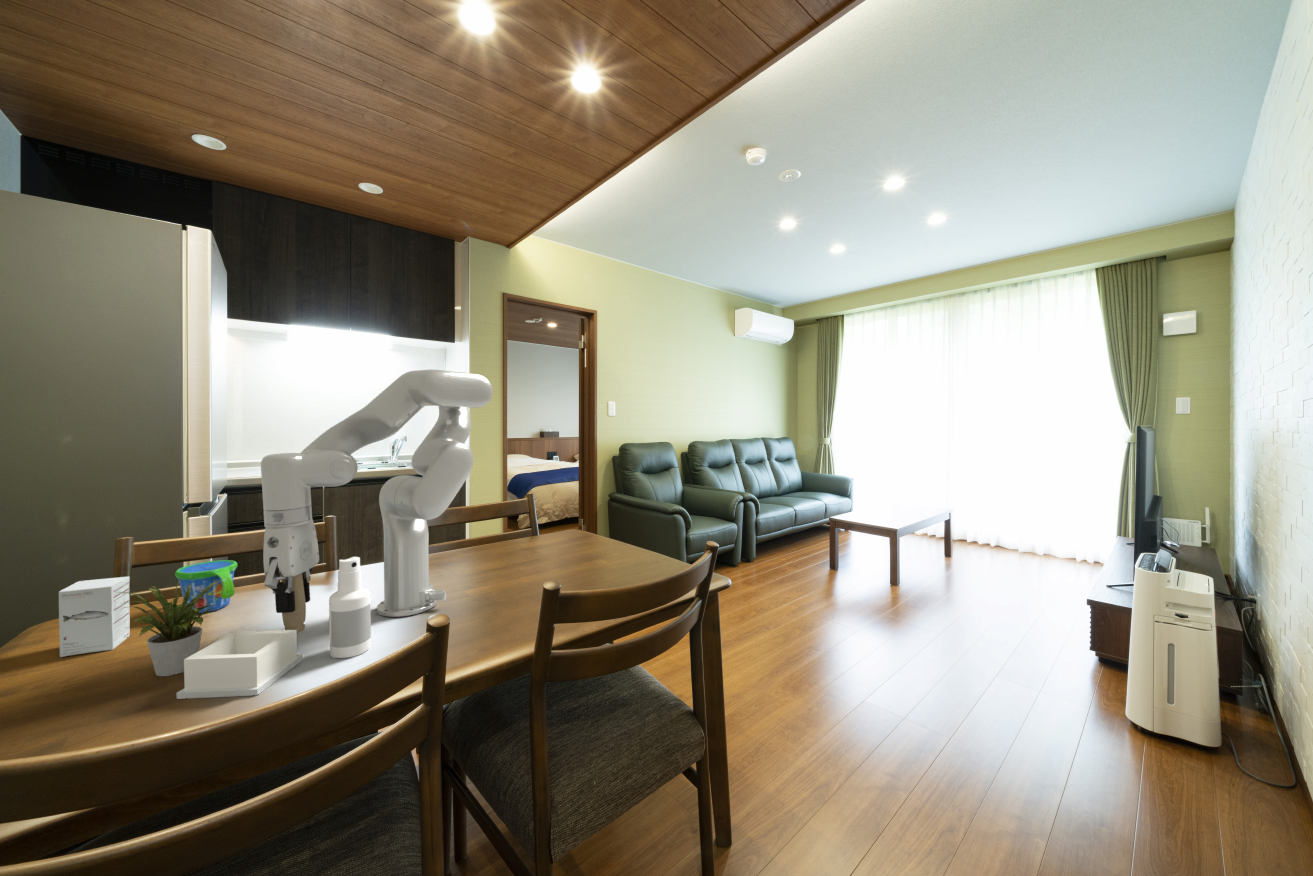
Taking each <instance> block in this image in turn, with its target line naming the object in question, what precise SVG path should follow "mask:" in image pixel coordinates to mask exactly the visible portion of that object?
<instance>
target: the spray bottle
mask: <svg viewBox="0 0 1313 876" xmlns="http://www.w3.org/2000/svg"><path fill="white" fill-rule="evenodd" d="M338 563H339V564H338V565H339V566H338V567H339V568H338V571H337V590H336V591H335V592H334V593H332V594H331V595H330V596H329V599H328V605H329V609H328V611H329V612H328V614H329V615H328V617H329V620H328V621H329V622H328V623H329V625H328V627H329V655H330V656H331V657H332V658H335V659H347V658H353V657H357V656H359V655H362V654H364V653H366V652H368V651H369V650H370V648H371V647H372V633H371V631H372V629H371V627H372V625H371V622H372V621H371V613H372V612H371V611H372V610H371V591H370V589H368V588H365V587H363V579H362V567H361V557H359V556H351V557H349V558H345V559H339V561H338Z"/></svg>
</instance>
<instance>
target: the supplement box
mask: <svg viewBox="0 0 1313 876" xmlns="http://www.w3.org/2000/svg"><path fill="white" fill-rule="evenodd" d="M130 577H131V576H120V577H109V578H108V577H107V578H99V579H98V578H97V579H89V580H87V579H86V580H79V581H76V582H74V583H73V584H70V585H69V586H67V587H65V588H63V589H61V590H60V591H58V624H59V625H58V626H59V627H58V630H59V633H58V634H59V639H58V641H59V657H60V658H63V657H68V656H75V655H81V654H89V653H97V652H103V651H104V652H105V651H112V650H114V649H115V648H117V647H118V646H119V645H121V644H122V643H123V642H124V641H126V640H127V639H128V638H129V637H130V635H131V634H130V633H131V632H130V628H131V627H130V626H131V625H130V624H131V623H130V620H131V616H130V608H131V607H130V606H131V605H130V603H131V602H130V594H129V593H130V579H131V578H130ZM118 592H128V593H118ZM125 602H127V603H125ZM121 603H122V604H121ZM124 607H126V608H124ZM120 608H121V609H120ZM127 627H128V628H127ZM127 637H128V638H127Z"/></svg>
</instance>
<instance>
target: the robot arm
mask: <svg viewBox="0 0 1313 876" xmlns="http://www.w3.org/2000/svg"><path fill="white" fill-rule="evenodd" d="M493 392H494V391H493V386H492V383H491V382H490V380H488V378H487V377H485V376H484V375H482V374H478V373H474V372H473V373H472V372H471V373H470V372H459V371H450V370H442V369H420V370H419V369H418V370H411V371H410V370H409V371H407V372H404V373H402V374H401V375H400V376H398V378H396V379H395V380H393V382H392V383H391V384H389V385H388V386H387V387H386V388H385V389H384V390H382V391H381V392H380V393H379V394H378V395H377V396H375V398H373V399H372V400H370V402H368V404H366V405H365V406H364V407H362V408H361V409H359V410H357V411H355V412H354V413H352V414H351V415H349V416H348V417H346V418H345V419H342V420H341V421H338V423H336V424H334V425H332V426H331V427H330V428H329V429H326V431H324V432H323V433H321V434H320V435H319V436H318V437H317V438H315V439H314V440H313V441H312V442H310V444H308V445H307V446H306V447H305V448H304V449H303V450H302V451H300V452H285V453H274V454H273V453H272V454H268V455H265V456H263V457H262V459H261V460H260V461H261V462H260V471H261V473H260V474H261V475H260V476H261V488H262V489H261V490H262V491H261V492H262V504H263V506H262V508H263V523H264V534H263V535H264V537H263V551H262V552H263V555H262V558H263V559H262V560H263V570H264V571H263V572H264V576H265V580H264V583H263V585H264V586H265V587H267V588H269V589H271V590H272V594H273V595H274V596H275V597H274V598H275V599H274V600H275V612H276V614H277V613H278V614H282V613H288V612H294V611H295V593H294V591H292V579H293V577H296V576H298V575H299V574H301V573H302V577H303V585H304V593H305V600H306V601H305V602H306V603H309V602H310V601H311V590H310V587H311V586H310V582H311V579H312V577H311V573H312V570H313V568H314V567H315V566H316V565H318V563H319V562H320V554H319V552H320V551H319V544H318V537H317V531H316V526H315V522H314V519H313V512H312V511H313V510H312V495H311V493H312V492H311V488H317V487H320V488H321V487H323V488H324V487H325V488H326V487H327V488H328V487H329V488H330V487H332V488H333V487H340V486H344V485H345V484H348V483H350V482H351V481H352V480H353V479H354V478H355V477H356V475H357V474H358V473H357V472H358V470H359V468H358V463H357V461H356V459H355V457H354V456H353V455H352V454H354V453H355V452H357V451H359V450H360V449H362V448H364V447H366V446H368V445H370V444H374V443H377V442H378V443H379V442H380V441H383V440H385V439H387V438H390V437H392V436H394V435H395V434H397V433H398V432H399V431H400V430H401V429H402V428H403V427H404V426H405V425H406V424H408V422H409V421H410V420H411V419H412V418H413V417H414V416H415V415H417V413H418V412H420V411H421V410H422V409H423V408H425V407H426V406H427V407H429V406H432V407H433V406H435V407H437V406H438V417H437V421H436V422H435V424H434V425H433V427H432V428H431V430H430V431H429V432H428V434H427V435H426V436H425V437H424V439H423V440H422V442H420V444H419V445H418V447H417V448H416V449H415V451H414V453H413V455H412V457H411V467H412V469H413V471H414V472H416V473H417V474H418V475H420V476H415V475H407V474H406V475H403V474H402V475H397V476H394V477H391V478H389V479H388V480H387V481H386V482H385V483H384V484H383V485H382V487H381V488H380V490H379V496H378V497H379V498H378V503H379V508H380V509H379V510H380V514H381V518H382V519H381V520H382V526H383V527H382V528H383V580H384V581H383V583H384V585H383V586H384V587H383V589H384V591H383V593H384V594H383V595H384V596H383V597H384V598H383V601H381V602H379V604H377V606H376V613H377V614H379V615H380V616H382V617H388V618H389V617H390V618H396V617H397V618H398V617H408V616H412V615H418V614H421V613H425V612H426V611H429V610H430V609H432V608H434V606H435V605H436V603H437V601H438V602H439V601H446V600H447V596H448V595H447V591H445V589H437V590H436V589H434V584H433V583H430V580H429V579H430V578H429V574H430V573H429V567H430V566H429V565H430V564H429V562H430V561H429V541H430V540H429V538H430V537H429V535H430V533H429V526H428V521H430V520H434V519H436V518H439V517H440V516H441V515H442V514H444V513H445V511H446V510H447V509H448V508H449V506H450V505H451V503H452V502H453V501H454V499H455V497H456V496H457V494H458V493H459V492H460V490H461V488H462V487H463V485H464V483H465V482H466V481H467V480H468V478H469V476H470V474H471V472H472V469H473V465H474V455H473V452H472V450H471V449H470V447H469V446H468V445H467V444H466V441H467V440H468V438H469V436H470V434H471V430H472V421H471V420H472V419H471V415H470V411H469V409H477V408H482V407H484V406H486V405H488V403H489V402H490V401H491V399H492V397H493ZM281 573H282V575H283V576H281ZM282 580H286V584H284V583H283V582H282Z"/></svg>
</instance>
